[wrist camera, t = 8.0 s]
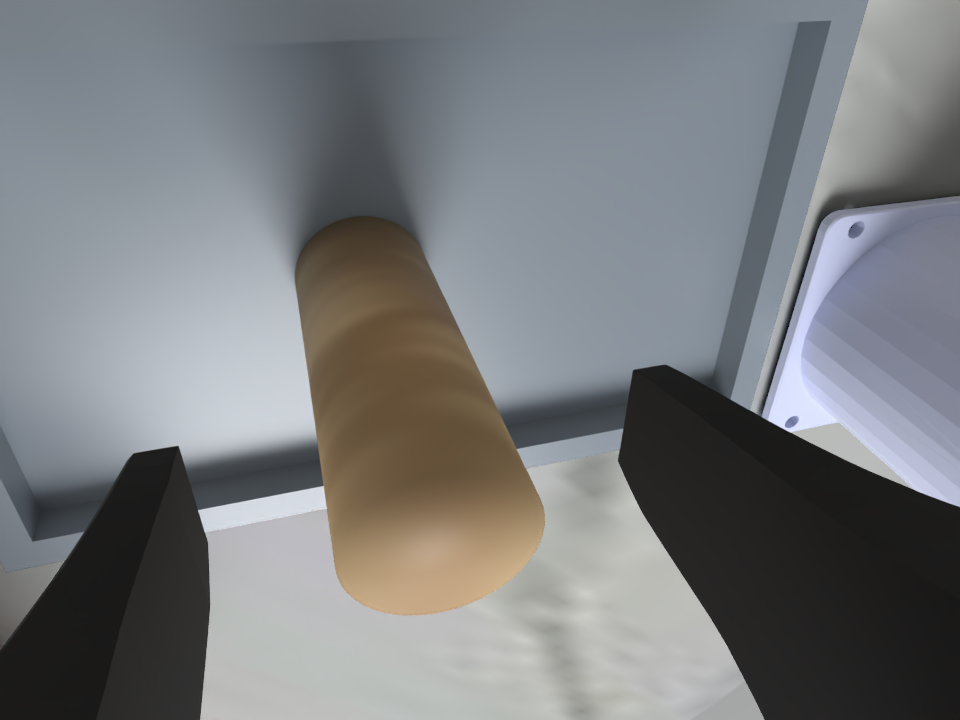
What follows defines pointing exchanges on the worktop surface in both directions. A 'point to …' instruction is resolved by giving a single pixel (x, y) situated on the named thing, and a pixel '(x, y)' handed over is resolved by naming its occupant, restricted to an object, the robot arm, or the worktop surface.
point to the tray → (388, 195)
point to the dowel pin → (406, 429)
